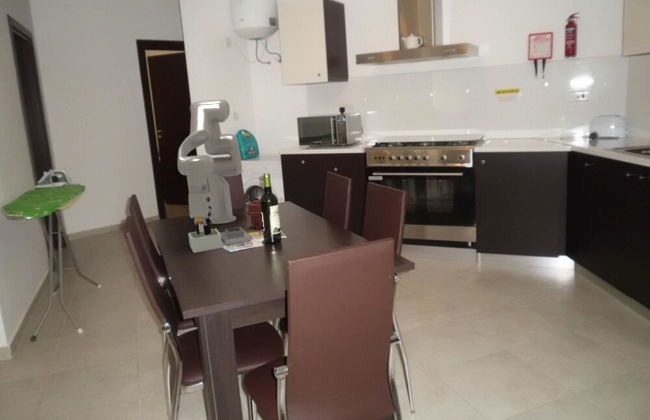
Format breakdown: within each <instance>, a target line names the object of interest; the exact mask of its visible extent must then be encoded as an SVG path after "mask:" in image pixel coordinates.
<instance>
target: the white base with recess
mask: <svg viewBox="0 0 650 420" xmlns="http://www.w3.org/2000/svg"><path fill="white" fill-rule="evenodd" d="M219 233H220V234H221V239H223V240H222V242H224V244H225V245H226V244H228V245H233V244H232V243H234V244H238V243H237V242H240V243H244V242H243V241H245V242H249V240H251V236H250V234H248V232H246V230H244V229H243V228H242V227H240V226H238V227H231V228H224V231H221V232H219Z"/></svg>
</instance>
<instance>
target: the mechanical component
mask: <svg viewBox="0 0 650 420" xmlns="http://www.w3.org/2000/svg"><path fill="white" fill-rule="evenodd" d="M247 207H248V208H247V209H248V210H246V215H247V216H249V217H250V223H251V224H250V225H251V226H252V227H254V228H255V229H256V230H259V229H262V228H264V227H263V222H262V214H261V207H260V199H259V200H257V199H256V200H253V201H252V202H249V203H248V204H247Z"/></svg>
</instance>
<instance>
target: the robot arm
mask: <svg viewBox="0 0 650 420" xmlns="http://www.w3.org/2000/svg"><path fill="white" fill-rule="evenodd" d="M230 108H231V107H230V104H229V102H228V101H227V100H226V99H215V100H214V99H213V100H200V101H194V102H192V103H191V104H190V105H189V109H190V129H189V135H188V136H187V137H185V138H184V140H183V142H182V143H181V144H180V146H179V148H178V152H177V170H178V172H179V173H180V174H181V175H183V176H186V180H187V187H188V210H189V217H190V218H191V220H192V221H193V223H194V224H195V226H196V227H195V228H196V232H197V234H200V233H199V226H198V222H196V217H201V218H203V220H204V226H203V227H204V234H205V235H208V234H211V229H212V228H211V224H214V225H220V224H221V225H222V224H228V223H233V222H235V221H236V220H237V217H236V216H234V215H233V208H232V198H231V191H230V190H231V189H230V184H229V183H228V182H227V180H226V179H225V177H233V176H234V177H235V176H239V175H240V174H242V172H243V166H242V158H241V151H240V144H239V140H238V137H237V136H236V135H235V134H233V133H225V134H223V133H222V132H221V131H222V130H221V126H220V123H224V122H226V121H227V119H228V118H229V117H230V114H231V113H230V111H231V109H230ZM202 145H204V149H205V150H204V151H205V153H206V154H205V155H204V154H202V155H189V156H188V154H189V153H190V152H192V151H193V150H194V149H196V148H199V147H200V146H202ZM223 155H228V156H223ZM212 156H216V157H212ZM207 218H208V220H207V221H206V219H207Z"/></svg>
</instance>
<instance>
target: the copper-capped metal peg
mask: <svg viewBox="0 0 650 420" xmlns="http://www.w3.org/2000/svg"><path fill="white" fill-rule="evenodd" d="M207 220H208V218H207V219H206V221H207ZM196 222H198V226H199V233H200V237H205V236H209V234H208V235H205V234H204V227H203V226H204V220H203V218H201V217H196Z"/></svg>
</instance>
